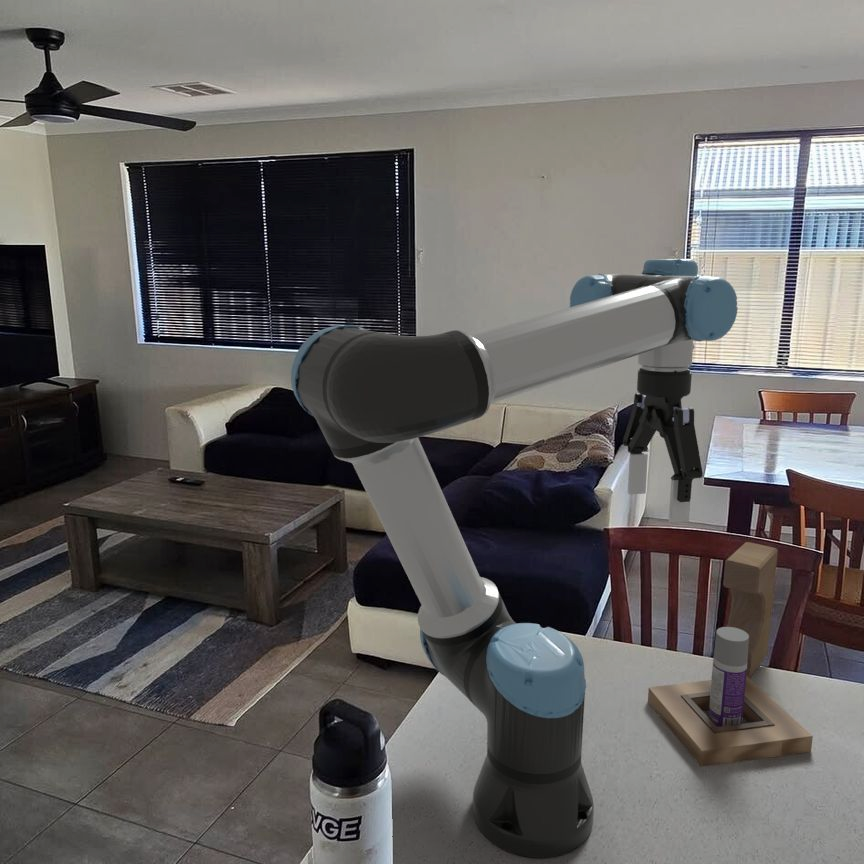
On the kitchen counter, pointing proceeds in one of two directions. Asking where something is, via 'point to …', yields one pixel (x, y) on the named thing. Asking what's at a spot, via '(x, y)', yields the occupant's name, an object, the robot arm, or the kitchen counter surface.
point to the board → (733, 743)
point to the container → (728, 676)
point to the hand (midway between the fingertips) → (656, 506)
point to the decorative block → (752, 596)
